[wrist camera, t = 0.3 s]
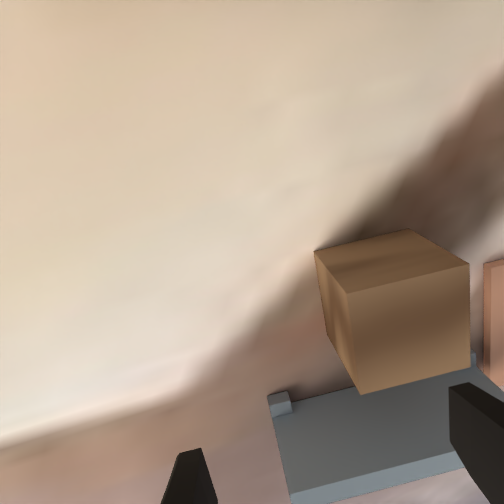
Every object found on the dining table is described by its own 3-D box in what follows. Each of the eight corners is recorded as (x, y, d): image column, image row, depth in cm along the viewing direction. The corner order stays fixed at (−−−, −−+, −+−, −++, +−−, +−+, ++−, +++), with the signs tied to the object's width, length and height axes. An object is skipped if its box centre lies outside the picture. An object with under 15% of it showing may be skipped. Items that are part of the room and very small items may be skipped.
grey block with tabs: (467, 386, 24) (539, 461, 19) (276, 435, 24) (296, 525, 19) (467, 345, 23) (542, 413, 18) (266, 395, 23) (285, 480, 18)
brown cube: (418, 311, 22) (475, 365, 17) (326, 333, 22) (360, 395, 17) (412, 226, 20) (475, 262, 16) (313, 250, 20) (346, 294, 15)
